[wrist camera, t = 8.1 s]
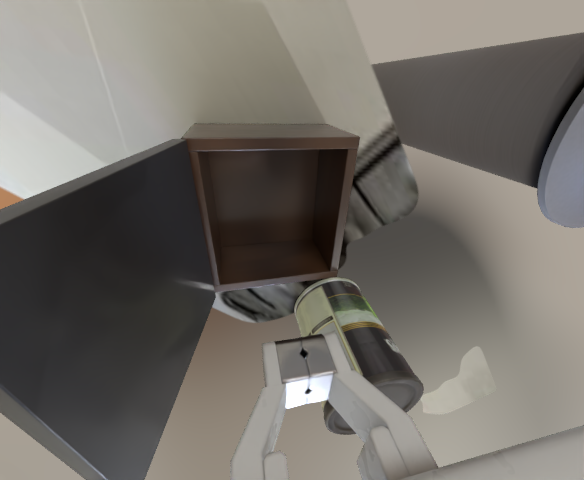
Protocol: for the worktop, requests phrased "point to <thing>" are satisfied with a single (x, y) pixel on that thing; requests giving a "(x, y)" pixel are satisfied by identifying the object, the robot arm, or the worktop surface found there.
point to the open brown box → (272, 200)
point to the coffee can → (356, 343)
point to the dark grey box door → (103, 310)
